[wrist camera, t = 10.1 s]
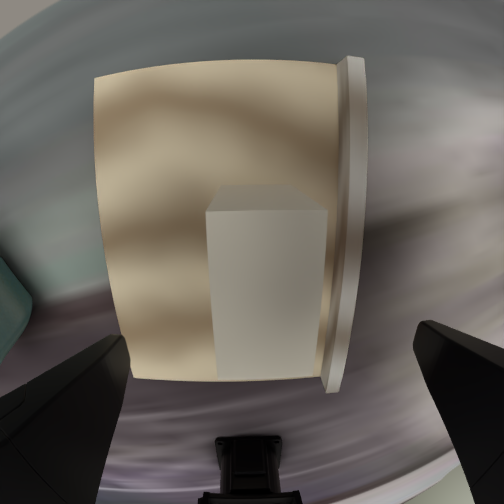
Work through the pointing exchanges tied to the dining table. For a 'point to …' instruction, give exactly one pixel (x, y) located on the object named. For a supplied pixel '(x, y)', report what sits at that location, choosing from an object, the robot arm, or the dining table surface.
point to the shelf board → (208, 183)
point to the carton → (265, 280)
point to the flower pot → (12, 309)
